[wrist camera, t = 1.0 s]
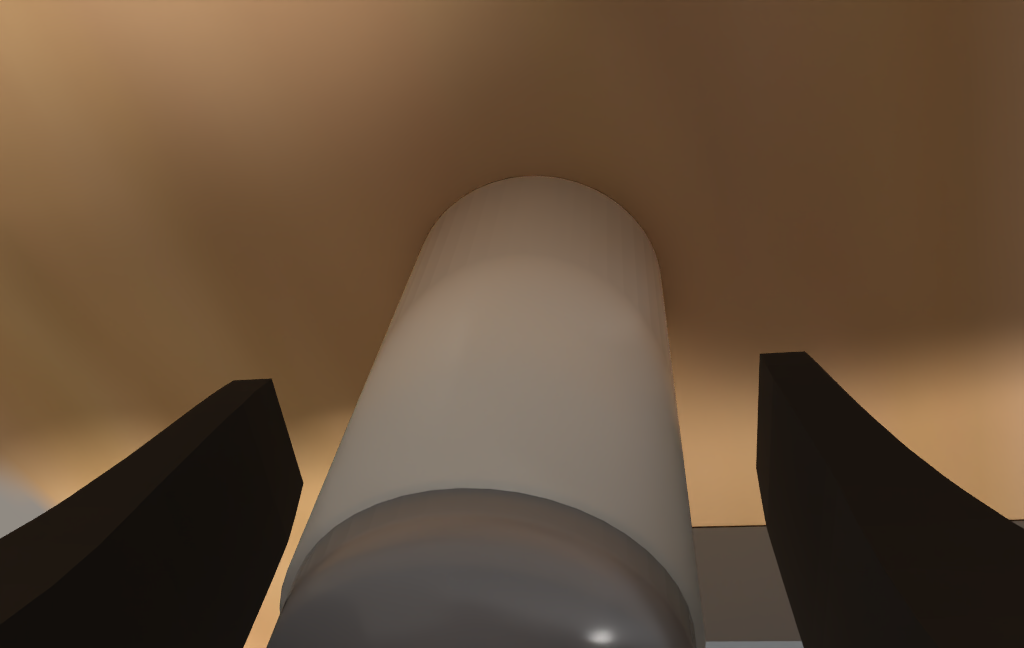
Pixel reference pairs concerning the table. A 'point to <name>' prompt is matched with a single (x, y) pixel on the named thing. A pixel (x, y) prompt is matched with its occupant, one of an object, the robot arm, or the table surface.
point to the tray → (744, 590)
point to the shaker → (510, 447)
